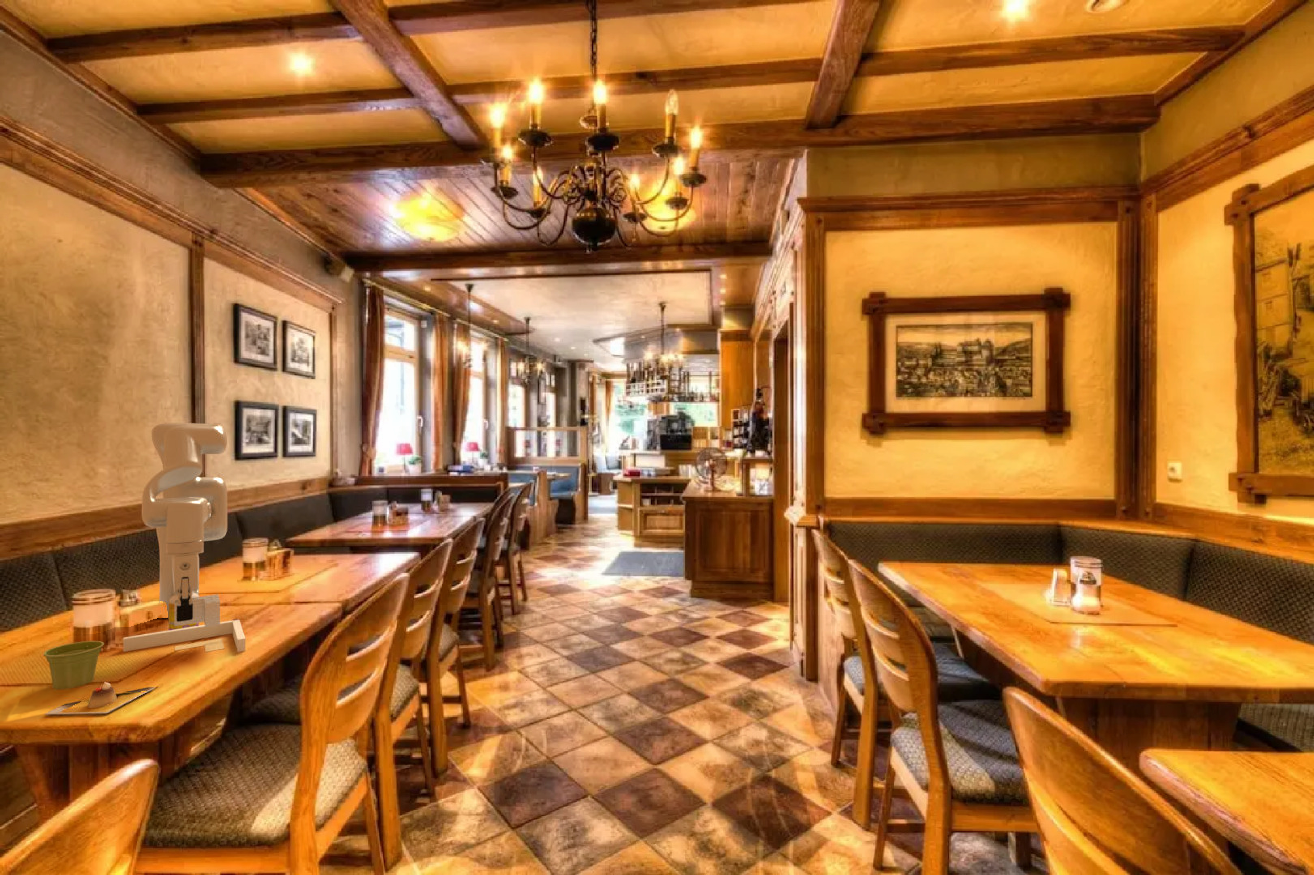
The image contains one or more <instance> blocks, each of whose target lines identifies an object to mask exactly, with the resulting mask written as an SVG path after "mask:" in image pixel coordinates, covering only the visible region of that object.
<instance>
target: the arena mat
mask: <svg viewBox="0 0 1314 875" xmlns="http://www.w3.org/2000/svg"><path fill="white" fill-rule="evenodd" d="M224 646H225V645H224V642H223V638H222V637H220V638H216V639H209V640H204V641H198V642H193V643H187V644H181V645H180V644H179V645H175V646H174V651H183V650H187V649H193V648H199V647H204V651H205V653H208V652H209V653H210V652H215V651H219V650H225V647H224Z"/></svg>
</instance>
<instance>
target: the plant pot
mask: <svg viewBox="0 0 1314 875" xmlns="http://www.w3.org/2000/svg"><path fill="white" fill-rule="evenodd" d="M104 645H105V643H104V642H103V641H100V640H86V641H85V640H84V641H77V642H72V643H71V642H70V643H66V644H63V645H58V646H55V647H51V648H49V649H47V650H46V651H44V652H43V657H45V658H46V661H47V662H48V665H49V670H50V674H51V675H50V676H51V682H52V688H53V689H54V690H67V689H72V688H78V687H81V686H85V685H87V684H89V683H91V682H93V681H94V678H95V674H96V668H97V663H98V658H99V654H100V653H101V651H102V647H103V646H104Z"/></svg>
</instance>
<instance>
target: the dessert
mask: <svg viewBox="0 0 1314 875" xmlns="http://www.w3.org/2000/svg"><path fill="white" fill-rule="evenodd" d="M155 688H156V687H155V686H153V687H152V686H149V687H148V686H146V687H143V688H138V689H133V690H127V691H126V692H131V693H140V694H138V695H137V696H134V697H133V698H131V699H128V700H127V701H125V702H123V703H121V704H119V705H117V706H115V707H114V708H112V709H110V710H108V711H91V712H90V711H87V712H81V711H80V712H64V711H65V710H64V709H66V710H67V709H69V708H72V707H74V706H76V705H79V703H82V702H81V701H82V700H79V701H73V702H69V703H64V704H62V705H59V706H58V707H56V708H54V709H52V710H51V709H50V711H47V712H45V713H44V715H46V716H47V715H48V716H66V715H67V716H69V715H70V716H71V715H73V716H74V715H75V716H76V715H77V714H82V715H107V714H109V713H111V712H113V711H115V710H117V709H119V708H121V707H122V706H124V704H125V705H126V704H129V703H131V702H132V701H134V700H136V699H138V698H139V696H140V697H142V696H144V695H145V693H146V694H147V693H149V692H151V691H152V690H154V689H155ZM141 691H146V692H141ZM143 694H144V695H143ZM141 695H142V696H141ZM137 697H138V698H137ZM117 699H118V697H117V694H116V692H115V689H114V687H113V686H112V685H111V683H109V682H106V681H104V683H103V685H101V683H100V684H99V686H98V687H96V688H95V689H94V690H93V691H92V693H91V696H90V699H89V701H88V704H87V708H90V709H91V708H92V709H93V708H94V707H95V708H101V706H102V707H104V706H105V705H106V706H108V705H107V704H109V705H112V704H113V702H114V703H116V702H117V701H118V700H117ZM116 700H117V701H116ZM115 701H116V702H115ZM111 703H112V704H111ZM75 704H76V705H75ZM73 705H74V706H73ZM99 706H100V707H99ZM95 708H94V709H95ZM63 710H64V711H63Z"/></svg>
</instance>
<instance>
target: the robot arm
mask: <svg viewBox="0 0 1314 875" xmlns="http://www.w3.org/2000/svg"><path fill="white" fill-rule="evenodd" d="M151 439H152V440H151V441H152V444H153V446H154V448H155V451H156V453H157V454H158V456H159V458H160V461H161V464H162V470H160V471H159V472H157V473H156V474H155V475H154V476H152V478H151V479H150V480H148V482H147V483H146V485H145V487H144V488H143V491H142V496H141V519H142V522H143V524H144V525H145V526H147V527H150V528H155V529H156V536H157V540H158V547H159V548H158V550H159V602H160V601H163V602H165V603H166V605H167V611H168V619H167V620H169V600H170V598H171V597H172V596H174V595H175V594H177V595H178V606H177V622H180V621H187V620H192V619H193V604H192V590H193V591H194V593H196V594H198V595H199V596H200V556H199V554H203V553H204V545H205V543H204V542H208V541H209V542H210V541H216V540H221V539H223V538H225V536H226V535H227V532H228V487H227V484H226V482H225V481H224V479H223V478H221V477H216V476H205V477H203V476H202V477H200V476H201V474H202V473H203V455H220V454H223V453H224V452H225V451H226V449H227V445H228V437H227V433H226V430H225V429H224V427H223V426H222V425H221V424H218V423H197V422H196V423H194V422H167V423H159V424H157V425H155V426H153V427H152V430H151ZM160 493H162V498H157V496H158V495H159V494H160ZM174 591H175V593H174Z"/></svg>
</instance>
